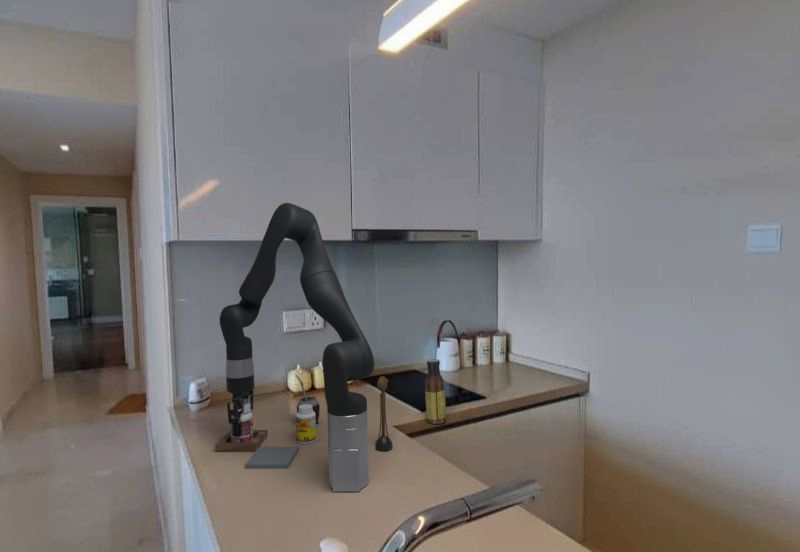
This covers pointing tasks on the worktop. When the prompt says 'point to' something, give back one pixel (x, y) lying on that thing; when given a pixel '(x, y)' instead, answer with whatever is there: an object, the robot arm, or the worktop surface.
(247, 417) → the pill bottle
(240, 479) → the worktop surface
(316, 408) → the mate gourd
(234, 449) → the socket block
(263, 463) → the mat
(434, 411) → the sauce bottle
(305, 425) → the supplement bottle
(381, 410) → the wooden tabletop sculpture
